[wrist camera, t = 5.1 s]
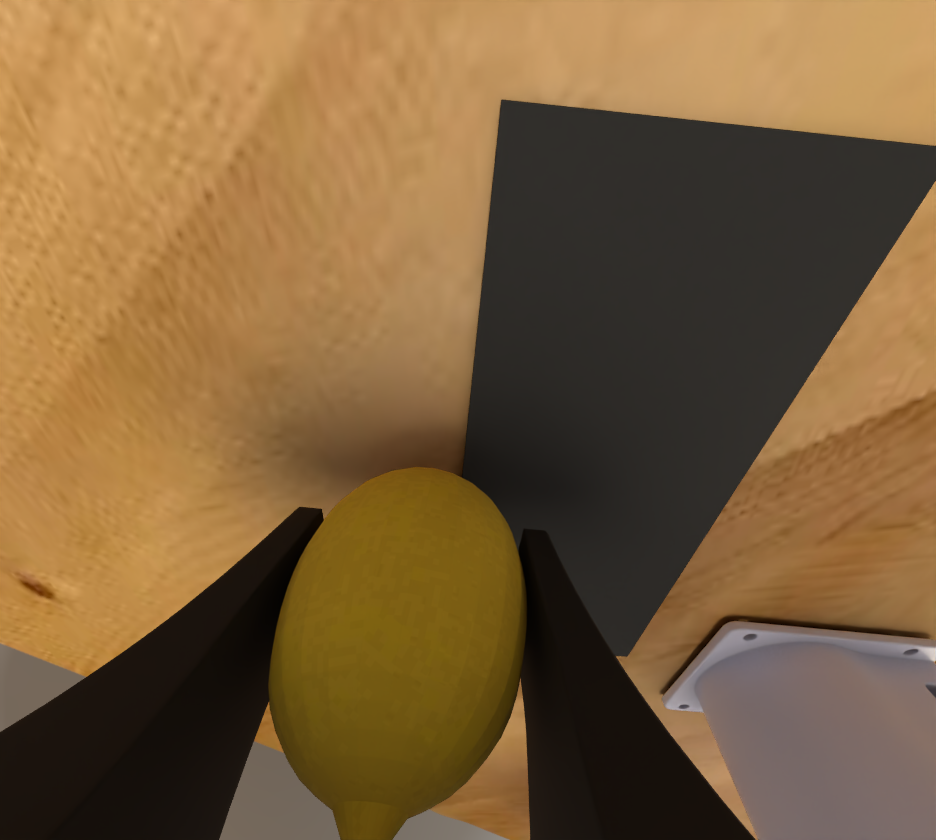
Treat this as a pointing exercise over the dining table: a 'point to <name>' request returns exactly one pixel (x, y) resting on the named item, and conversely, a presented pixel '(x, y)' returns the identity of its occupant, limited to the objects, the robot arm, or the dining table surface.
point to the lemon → (398, 648)
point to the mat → (659, 324)
